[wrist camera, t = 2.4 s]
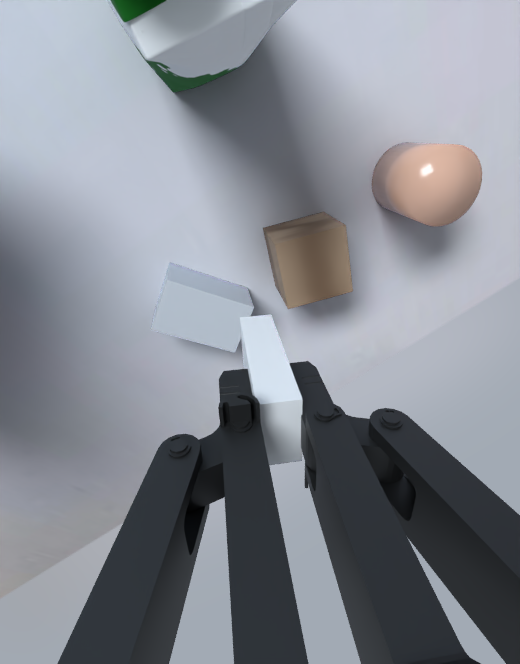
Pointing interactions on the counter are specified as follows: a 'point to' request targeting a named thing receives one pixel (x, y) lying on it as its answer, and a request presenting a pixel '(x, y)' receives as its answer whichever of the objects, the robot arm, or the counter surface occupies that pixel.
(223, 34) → the milk carton
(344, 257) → the walnut cube
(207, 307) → the grey brick
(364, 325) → the counter surface
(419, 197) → the peach domed cylinder
